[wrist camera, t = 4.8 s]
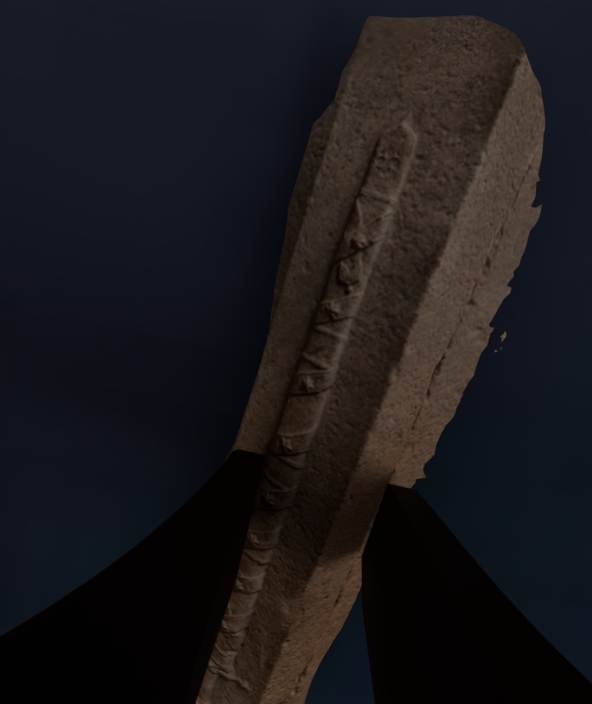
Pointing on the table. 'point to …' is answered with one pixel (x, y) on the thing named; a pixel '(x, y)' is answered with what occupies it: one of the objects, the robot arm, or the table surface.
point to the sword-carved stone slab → (374, 322)
